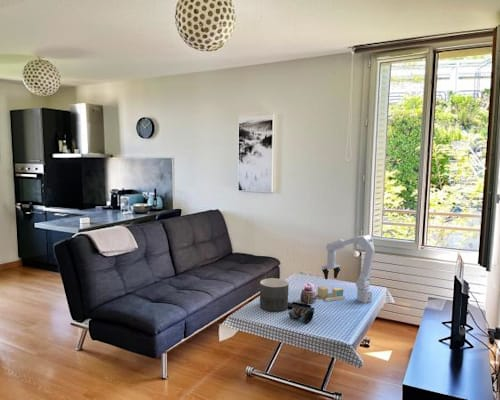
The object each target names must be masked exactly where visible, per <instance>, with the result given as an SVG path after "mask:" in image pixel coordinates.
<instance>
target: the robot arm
mask: <svg viewBox="0 0 500 400" xmlns="http://www.w3.org/2000/svg"><path fill="white" fill-rule="evenodd" d="M354 243H355V244H356V245H358V246H359V247H361V248H362V249H364V250H363V251H365V255H364V257H363V258H364V259H363V263H362V267H361V272H360V274H359V276H358V278H357V280H356V282H355V286H356V289H357V290H356V291H357V293H356V300H357V301H358V302H362V303H363V304H369V303H372V301H373V293H372V291H371V290H370V288H369V287H370V285H372V283H371V276H370V274H371V270H372V264H373V261H374V256H375V252H376V251H375V250H376V248H375V245H374V239H373V238H372V236H371V235H369V234H366V235H359V236H353V237H352V238H348V239H342V238H339V239H338V240H336V241H331V242H328V243H327V244H326V246H325V248H326V251H327V258H326V261H327V262H326V263H327V264H326V265H324V266H323V265H322V266H321V271H322V273H323V275H324V279H325V280H328V279H329V272H330V271H329V270H331V269H333V278H334V279H337V278H338V274H339V273H340V271H341V264H337V263H336V257H337V250H341V249H344V248H346V246H347V245H351V244H354ZM328 269H329V270H328Z"/></svg>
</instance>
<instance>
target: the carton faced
mask: <svg viewBox="0 0 500 400" xmlns="http://www.w3.org/2000/svg"><path fill="white" fill-rule="evenodd" d="M331 291H332V292H331V293H332V297H338V296H344V288H342V287H334V288H332V290H331Z"/></svg>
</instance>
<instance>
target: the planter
mask: <svg viewBox="0 0 500 400" xmlns="http://www.w3.org/2000/svg"><path fill="white" fill-rule="evenodd" d="M259 285H260V286H259V308H260V309H261V310H263V311H265V312H271V313H277V312H278V313H279V312H284V311H286V310H287V309H288V307H289V306H288V305H289V281H287V280H286V279H283V278H277V277H276V278H274V277H271V278H264V279H261V280H260V281H259Z"/></svg>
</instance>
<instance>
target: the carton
mask: <svg viewBox="0 0 500 400" xmlns="http://www.w3.org/2000/svg"><path fill="white" fill-rule="evenodd" d="M328 294H329V289H328V288H327V287H326V286H324V285H321V286H317V295H318V296H320V297H322V298H327V297H328Z"/></svg>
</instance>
